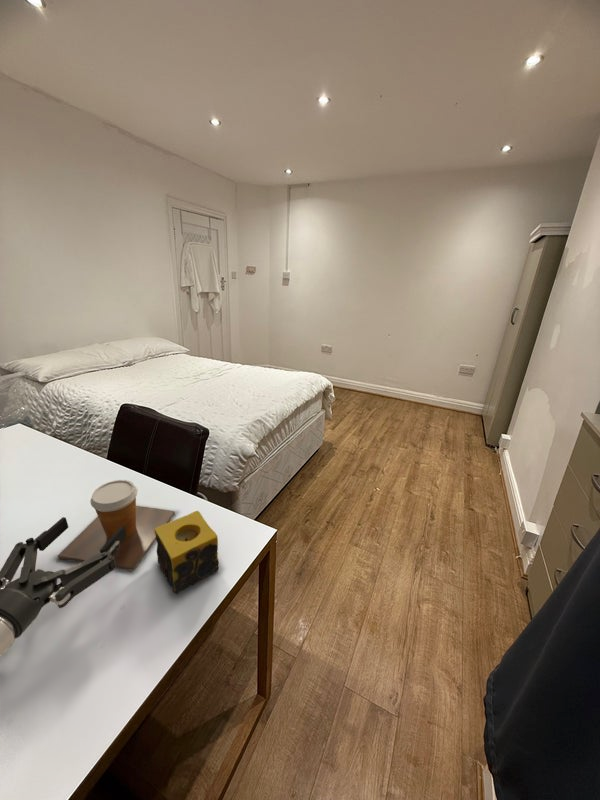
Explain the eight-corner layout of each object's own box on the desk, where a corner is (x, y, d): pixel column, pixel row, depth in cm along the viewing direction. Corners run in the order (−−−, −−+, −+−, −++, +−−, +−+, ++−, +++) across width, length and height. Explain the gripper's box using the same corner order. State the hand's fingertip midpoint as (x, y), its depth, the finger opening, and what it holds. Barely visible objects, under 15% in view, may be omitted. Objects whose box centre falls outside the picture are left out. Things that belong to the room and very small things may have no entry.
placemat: (58, 558, 71) (57, 555, 71) (112, 504, 88) (112, 502, 87) (133, 570, 69) (133, 568, 69) (174, 513, 86) (174, 511, 86)
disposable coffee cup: (89, 540, 75) (78, 498, 71) (121, 513, 84) (114, 475, 79) (122, 551, 73) (113, 509, 68) (151, 523, 81) (145, 483, 77)
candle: (157, 562, 71) (151, 528, 68) (200, 541, 78) (197, 508, 74) (174, 597, 64) (169, 560, 61) (220, 570, 70) (218, 535, 67)
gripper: (-67, 629, 52) (46, 532, 72) (74, 656, 50) (151, 547, 69) (-85, 596, 49) (37, 505, 69) (64, 623, 47) (146, 520, 66)
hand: (94, 526), depth 69 cm, fingers open, 13 cm apart
